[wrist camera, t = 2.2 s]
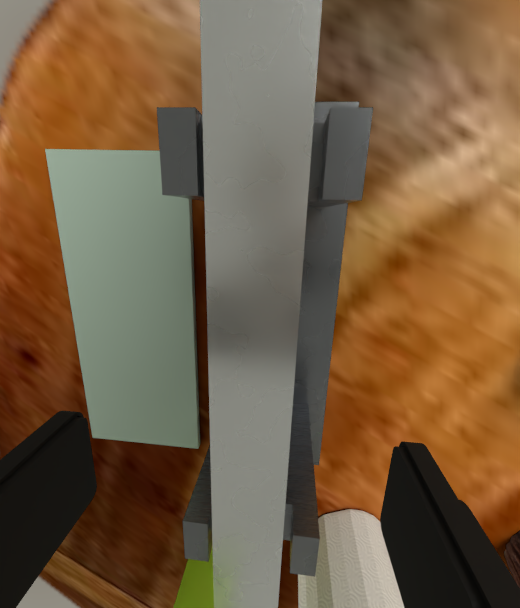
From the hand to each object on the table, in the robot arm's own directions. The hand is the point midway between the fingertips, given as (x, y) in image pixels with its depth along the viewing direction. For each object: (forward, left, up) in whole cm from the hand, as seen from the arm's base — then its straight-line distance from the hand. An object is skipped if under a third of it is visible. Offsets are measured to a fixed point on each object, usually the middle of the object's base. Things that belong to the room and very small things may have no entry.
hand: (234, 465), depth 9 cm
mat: (+1, -11, -15) cm, 18 cm away
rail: (-1, 0, -5) cm, 4 cm away
